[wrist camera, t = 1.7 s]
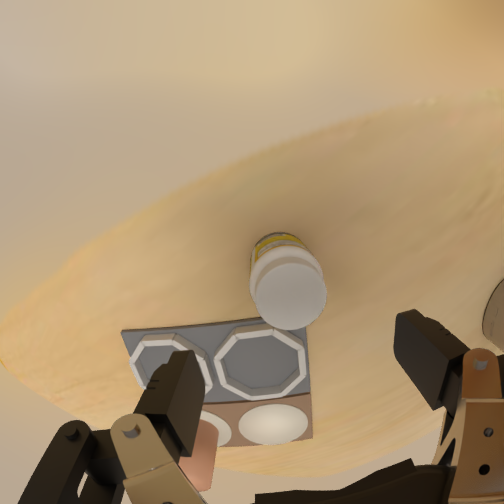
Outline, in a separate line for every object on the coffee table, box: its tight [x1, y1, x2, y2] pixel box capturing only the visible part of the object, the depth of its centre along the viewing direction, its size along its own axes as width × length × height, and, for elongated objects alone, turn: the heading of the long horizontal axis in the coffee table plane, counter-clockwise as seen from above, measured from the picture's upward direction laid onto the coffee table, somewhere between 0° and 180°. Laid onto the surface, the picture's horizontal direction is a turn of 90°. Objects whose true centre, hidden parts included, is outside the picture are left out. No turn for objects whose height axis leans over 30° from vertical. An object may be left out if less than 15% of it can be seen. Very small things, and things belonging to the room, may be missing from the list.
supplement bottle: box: [249, 232, 327, 330], centre depth 18 cm, size 5×5×8 cm
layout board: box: [120, 317, 313, 492], centre depth 22 cm, size 18×19×9 cm
